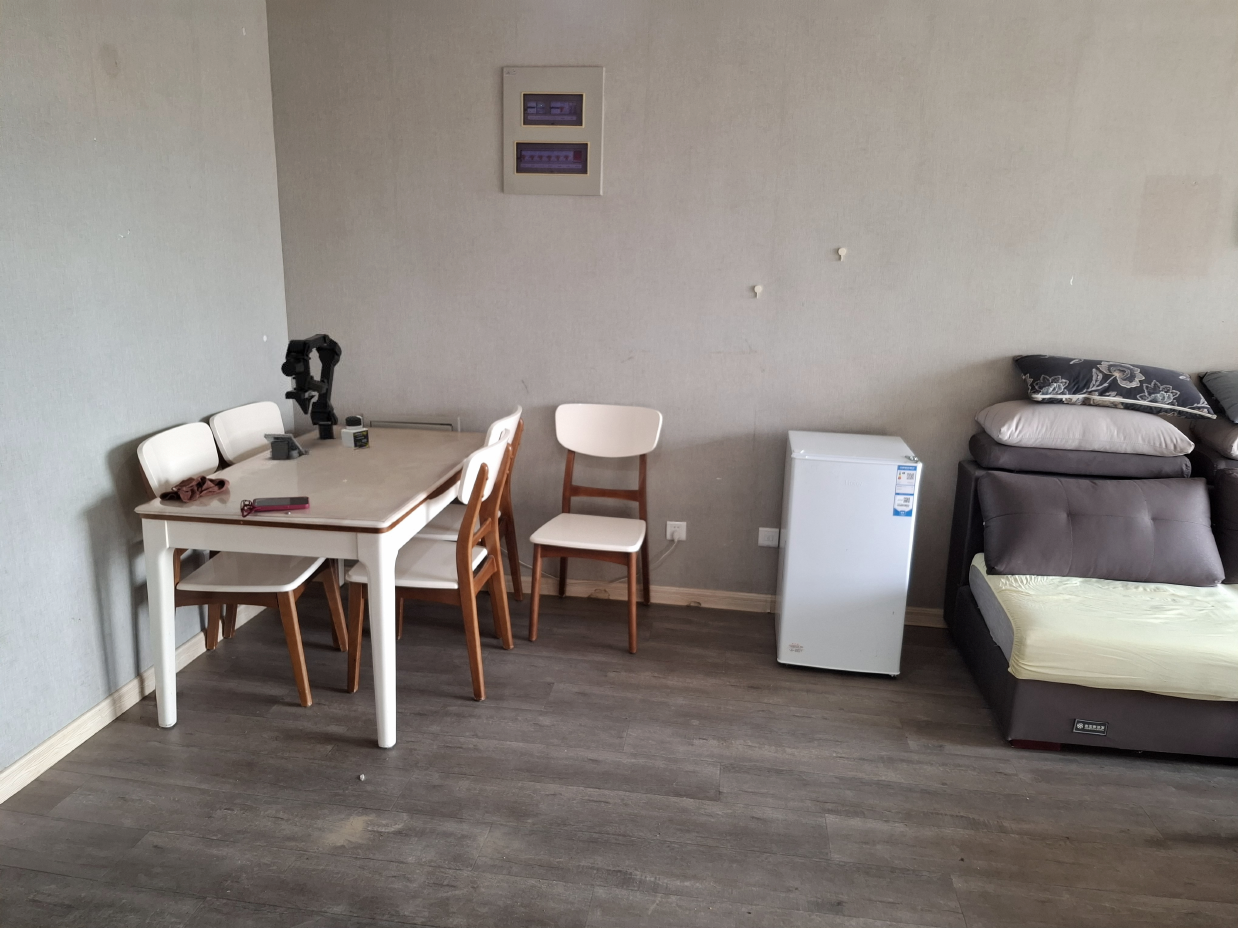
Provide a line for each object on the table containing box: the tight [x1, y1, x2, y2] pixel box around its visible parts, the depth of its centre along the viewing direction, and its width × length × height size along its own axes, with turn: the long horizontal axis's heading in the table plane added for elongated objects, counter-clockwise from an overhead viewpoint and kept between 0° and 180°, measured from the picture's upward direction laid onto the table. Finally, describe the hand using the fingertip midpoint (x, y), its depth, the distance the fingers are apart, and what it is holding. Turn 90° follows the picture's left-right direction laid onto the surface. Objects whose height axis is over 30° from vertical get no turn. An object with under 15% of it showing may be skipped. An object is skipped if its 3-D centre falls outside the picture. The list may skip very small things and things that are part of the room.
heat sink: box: [269, 441, 310, 461], centre depth 297 cm, size 10×13×7 cm
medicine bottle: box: [340, 415, 370, 451], centre depth 316 cm, size 7×7×12 cm
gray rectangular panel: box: [263, 433, 305, 455], centre depth 297 cm, size 12×10×1 cm
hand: (306, 414), depth 313 cm, fingers closed
